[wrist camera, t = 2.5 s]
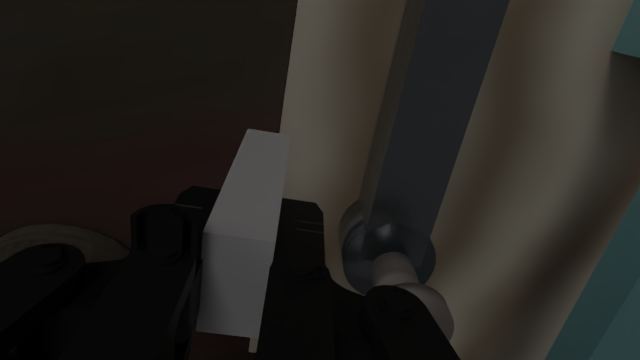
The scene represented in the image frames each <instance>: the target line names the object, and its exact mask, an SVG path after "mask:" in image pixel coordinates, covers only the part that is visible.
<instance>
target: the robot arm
mask: <svg viewBox="0 0 640 360" xmlns="http://www.w3.org/2000/svg"><path fill="white" fill-rule="evenodd" d="M290 140H291V136H290V135H284V134H278V133H271V132H265V131H259V130H253V129H248V130H247V132H246V134H245V137H244V139H243V141H242V143H241V146H240V148H239V150H238V152H237V155H236V157H235V159H234V162H233V164H232V166H231V168H230V171H229V173H228V175H227V178H226V180H225V182H224V184H223V187H222V189H221V190H218V189H211V188H204V187H197V186H192V187H190V188H188V189H187V190H185V191H183V192H182V193H180V195H179V196H178V198H177V199H176V201H175V203H174V204H156V205H149V206H146V207H143V208H141V209H138V210H137V211H136V212H134V213H133V214H132V215H131V251H130V252H129V254H128V255H127V257H126V258H123V259H120V260H112V261H102V262H88V263H85V256H84V254H83V253H82V251H81V249H79V248H77V247H75V246H73V245H69V244H63V243H46V244H40V245H36V246H32V247H28V248H26V249H23V250H21V251H19V252H17V253H15V254H13V255H12V256H10V257H8V258H7V259H5V260H4V261H2V262H0V360H187V359H188V356H189V353H190V350H191V335H192V330H193V327H194V325H195V322H196V319H197V324H196V331H200V332H208V333H216V334H225V335H233V336H242V337H250V338H258V345H257V351H256V357H255V360H461V359H460V358H459V356H458V355H457V353H456V352H455V350H454V349H453V347H452V345H451V344H450V342H449V341H448V339H447V338H446V336H445V335H444V333H443V332H442V330H441V328H440V327H439V325H438V324H437V322H436V321H435V319H434V318H433V316H432V315H431V313H430V311H429V310H428V308H427V307H426V305H425V304H424V303H423V302H422V301H421V300H420V299H419V298H418V297H417V296H416V295H414V294H413V293H411V292H410V291H408V290H406V289H403V288H400V287H397V286H391V285H380V286H375V287H373V288H372V289H370V290H369V291H367V293H366V296H363V295H361V294H358V293H355V292H352V291H350V290H348V289H346V288H344V287H342V286H340V285H339V284H337V283H336V282H335V281H334V280H333V279H332V278H331V275H330V272H329V269H328V268H327V267H326V265H325V243H324V225H323V224H324V218H323V212H322V210H321V209H320V208H319V206H318V205H317V204H316V203H314V202H308V201H301V200H294V199H287V198H282V195H283V188H284V181H285V174H286V167H287V161H288V154H289V147H290ZM12 349H13V350H12ZM11 350H12V351H11Z"/></svg>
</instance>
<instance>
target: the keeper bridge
mask: <svg viewBox="0 0 640 360" xmlns="http://www.w3.org/2000/svg"><path fill="white" fill-rule="evenodd" d="M611 51H613V52H618V53H622V54H626V55H630V56H634V57H638V58H640V0H634V1H633V3H632V6H631V8H630V10H629V12H628V14H627V17H626V19H625V21H624V23H623V26H622V28H621V30H620V32H619V34H618V37H617V39H616V41H615V43H614V46H613V48H612V50H611ZM545 360H640V187H639V189H638V191H637V193H636V194H635V196H634V198H633V200H632V202H631V204H630V205H629V207H628V209H627V211H626V213H625V214H624V216H623V218H622V220H621V222H620V224H619V225H618V227H617V229H616V231H615V233H614V234H613V236H612V238H611V240H610V242H609V243H608V245H607V247H606V249H605V251H604V253H603V254H602V256H601V258H600V260H599V262H598V263H597V265H596V267H595V269H594V271H593V272H592V274H591V276H590V278H589V280H588V282H587V283H586V285H585V287H584V289H583V291H582V292H581V294H580V296H579V298H578V300H577V302H576V303H575V305H574V307H573V309H572V311H571V312H570V314H569V316H568V318H567V320H566V321H565V323H564V325H563V327H562V329H561V331H560V332H559V334H558V336H557V338H556V340H555V341H554V343H553V345H552V347H551V349H550V351H549V352H548V354H547V356H546V358H545Z"/></svg>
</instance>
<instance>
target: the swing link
mask: <svg viewBox="0 0 640 360" xmlns="http://www.w3.org/2000/svg"><path fill="white" fill-rule="evenodd" d="M509 2H510V0H407V1H406V5H405V9H404V13H403V17H402V21H401V26H400V30H399V34H398V38H397V42H396V46H395V50H394V55H393V59H392V63H391V67H390V71H389V75H388V79H387V84H386V88H385V92H384V96H383V100H382V104H381V108H380V113H379V117H378V121H377V125H376V129H375V133H374V137H373V142H372V146H371V150H370V154H369V158H368V162H367V166H366V171H365V175H364V179H363V183H362V187H361V191H360V195H359V199H358V200H357V201H355V202H354V203H352V204H351V205H350V206H349V207H348V208H347V209H346V211H345V212H344V214H343V215H342V218H341V220H340V223H339V239H340V247H341V255H342V263H343V270H344V274H345V277H346V279H347V281H348V282H349V284H350V285H351V286H352V287H353V288H354V289H355V290H356V291H358V292H359V293H361V294H363V295H365V296H366V293H367V291H369V290H370V289H372V288H373V285H372V280H371V276H370V267H371V264H372V263H373V261H374V260H375V259H376V258H377V257H378V256H380V255H382V254H384V253H388V252H399V253H402V254H405V255H406V256H408V257H409V258H410V260H411V261H412V264H413V266H414V269H415V272H416V274H417V277H418V280H419V282H420V284H425V283H426V282H427V281H428V279H429V278H430V276H431V275H432V273H433V271H434V268H435V264H436V252H435V248H434V246H433V243H432V241H431V239H430V236H431V233H432V230H433V227H434V224H435V221H436V218H437V215H438V212H439V209H440V206H441V204H442V201H443V198H444V195H445V192H446V189H447V186H448V183H449V180H450V177H451V174H452V171H453V168H454V165H455V162H456V159H457V156H458V153H459V150H460V147H461V144H462V141H463V138H464V135H465V132H466V129H467V126H468V123H469V120H470V117H471V114H472V111H473V108H474V106H475V103H476V100H477V97H478V94H479V91H480V88H481V85H482V82H483V79H484V76H485V73H486V70H487V67H488V64H489V61H490V58H491V55H492V52H493V49H494V46H495V43H496V40H497V37H498V34H499V31H500V28H501V25H502V22H503V19H504V16H505V13H506V10H507V7H508V5H509Z"/></svg>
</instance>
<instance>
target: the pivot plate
mask: <svg viewBox="0 0 640 360" xmlns="http://www.w3.org/2000/svg"><path fill="white" fill-rule="evenodd" d="M406 1H407V0H298V5H297V13H296V20H295V27H294V34H293V41H292V48H291V55H290V62H289V69H288V76H287V83H286V90H285V97H284V104H283V112H282V119H281V126H280V133H279V134H284V135H290V136H291V140H290V147H289V154H288V161H287V167H286V174H285V181H284V188H283V195H282V198H287V199H294V200H301V201H308V202H314V203H316V204H317V205H318V206H319V208H320V209H321V210H322V212H323V218H324V224H323V225H324V243H325V265H326V267H327V268H328V269H329V272H330V275H331V278H332V279H333V280H334V281H335V282H336V283H337V284H339V285H340V286H342V287H344V288H346V289H348V290H350V291H352V292H355V293H358V294H361V293H359V292H358V291H356V290H355V289H354V288H353V287H352V286H351V285H350V284H349V282H348V281H347V279H346V277H345V274H344V270H343V263H342V255H341V247H340V239H339V223H340V220H341V218H342V215H343V214H344V212H345V211H346V209H347V208H348V207H349V206H350V205H351V204H352V203H354V202H355V201H357V200H358V199H359V195H360V191H361V187H362V183H363V179H364V175H365V171H366V166H367V162H368V158H369V154H370V150H371V146H372V142H373V137H374V133H375V129H376V125H377V121H378V117H379V113H380V108H381V104H382V100H383V96H384V92H385V88H386V84H387V79H388V75H389V71H390V67H391V63H392V59H393V55H394V50H395V46H396V42H397V38H398V34H399V30H400V26H401V21H402V17H403V13H404V9H405V5H406ZM633 1H634V0H510V2H509V5H508V7H507V10H506V13H505V16H504V19H503V22H502V25H501V28H500V31H499V34H498V37H497V40H496V43H495V46H494V49H493V52H492V55H491V58H490V61H489V64H488V67H487V70H486V73H485V76H484V79H483V82H482V85H481V88H480V91H479V94H478V97H477V100H476V103H475V106H474V108H473V111H472V114H471V117H470V120H469V123H468V126H467V129H466V132H465V135H464V138H463V141H462V144H461V147H460V150H459V153H458V156H457V159H456V162H455V165H454V168H453V171H452V174H451V177H450V180H449V183H448V186H447V189H446V192H445V195H444V198H443V201H442V204H441V206H440V209H439V212H438V215H437V218H436V221H435V224H434V227H433V230H432V233H431V236H430V239H431V241H432V243H433V246H434V248H435V252H436V264H435V268H434V271H433V273H432V275H431V276H430V278H429V279H428V281H427V282H426V283H425V284H420V282H419V280H418V277H417V274H416V272H415V269H414V266H413V264H412V261H411V260H410V258H409V257H408V256H406V255H405V254H402V253H399V252H388V253H384V254H382V255H380V256H378V257H377V258H376V259H375V260H374V261H373V263H372V264H371V267H370V276H371V280H372V285H373V287H375V286H380V285H391V286H397V287H400V288H403V289H406V290H408V291H410V292H411V293H413V294H414V295H416V296H417V297H418V298H419V299H420V300H421V301H422V302H423V303H424V304H425V305H426V307H427V308H428V310H429V311H430V313H431V315H432V316H433V318H434V319H435V321H436V322H437V324H438V325H439V327H440V328H441V330H442V332H443V333H444V335H445V336H446V338H447V339H448V341H449V342H450V344H451V345H452V347H453V349H454V350H455V352H456V353H457V355H458V356H459V358H460V359H461V360H545V358H546V356H547V354H548V352H549V351H550V349H551V347H552V345H553V343H554V341H555V340H556V338H557V336H558V334H559V332H560V331H561V329H562V327H563V325H564V323H565V321H566V320H567V318H568V316H569V314H570V312H571V311H572V309H573V307H574V305H575V303H576V302H577V300H578V298H579V296H580V294H581V292H582V291H583V289H584V287H585V285H586V283H587V282H588V280H589V278H590V276H591V274H592V272H593V271H594V269H595V267H596V265H597V263H598V262H599V260H600V258H601V256H602V254H603V253H604V251H605V249H606V247H607V245H608V243H609V242H610V240H611V238H612V236H613V234H614V233H615V231H616V229H617V227H618V225H619V224H620V222H621V220H622V218H623V216H624V214H625V213H626V211H627V209H628V207H629V205H630V204H631V202H632V200H633V198H634V196H635V194H636V193H637V191H638V189H639V187H640V58H638V57H634V56H630V55H626V54H622V53H618V52H613V51H611V50H612V48H613V46H614V43H615V41H616V39H617V37H618V34H619V32H620V30H621V28H622V26H623V23H624V21H625V19H626V17H627V14H628V12H629V10H630V8H631V6H632V3H633ZM361 295H363V294H361ZM363 296H365V295H363ZM257 345H258V338H250V345H249V352H254V353H256V351H257Z"/></svg>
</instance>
